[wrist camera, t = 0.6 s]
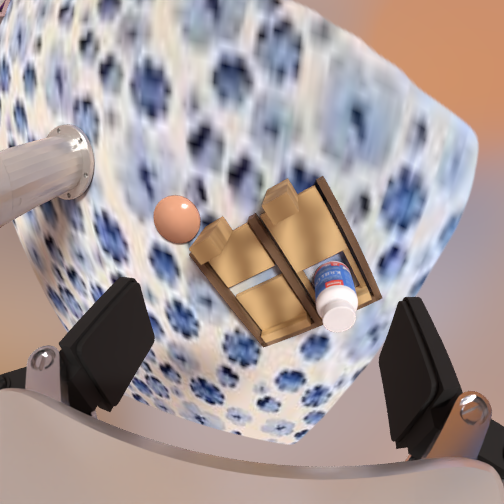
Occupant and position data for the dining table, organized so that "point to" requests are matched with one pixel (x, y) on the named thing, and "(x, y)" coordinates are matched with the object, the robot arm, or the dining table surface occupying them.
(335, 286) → the pill bottle
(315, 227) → the slat bottle lane
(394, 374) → the robot arm
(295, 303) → the lane rails
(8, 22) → the dining table surface
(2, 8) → the greeting card
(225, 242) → the tan wooden block
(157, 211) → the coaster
